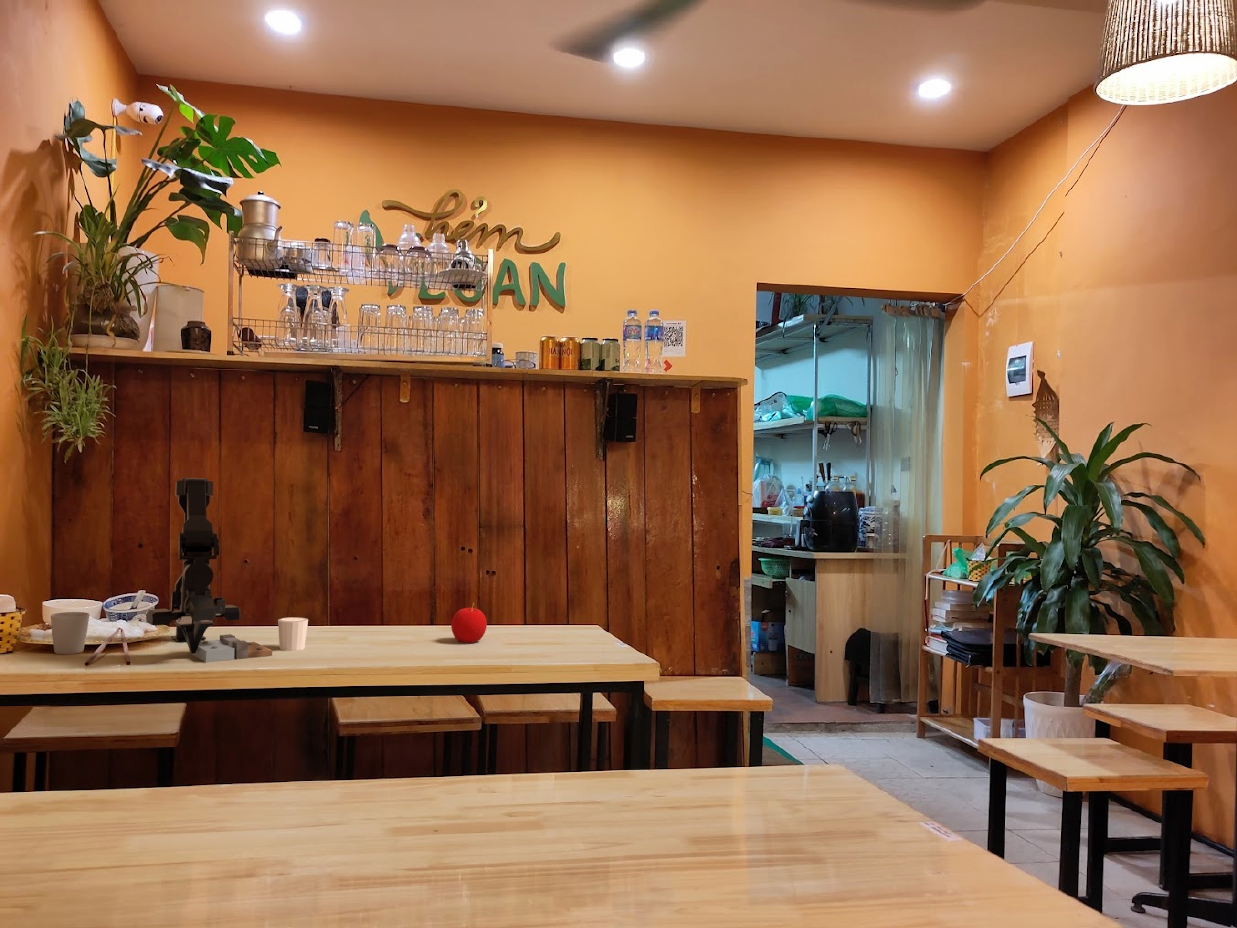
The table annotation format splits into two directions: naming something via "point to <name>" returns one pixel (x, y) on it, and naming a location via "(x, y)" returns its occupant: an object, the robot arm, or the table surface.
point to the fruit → (469, 625)
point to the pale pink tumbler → (292, 633)
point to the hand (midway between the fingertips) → (193, 653)
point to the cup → (69, 631)
